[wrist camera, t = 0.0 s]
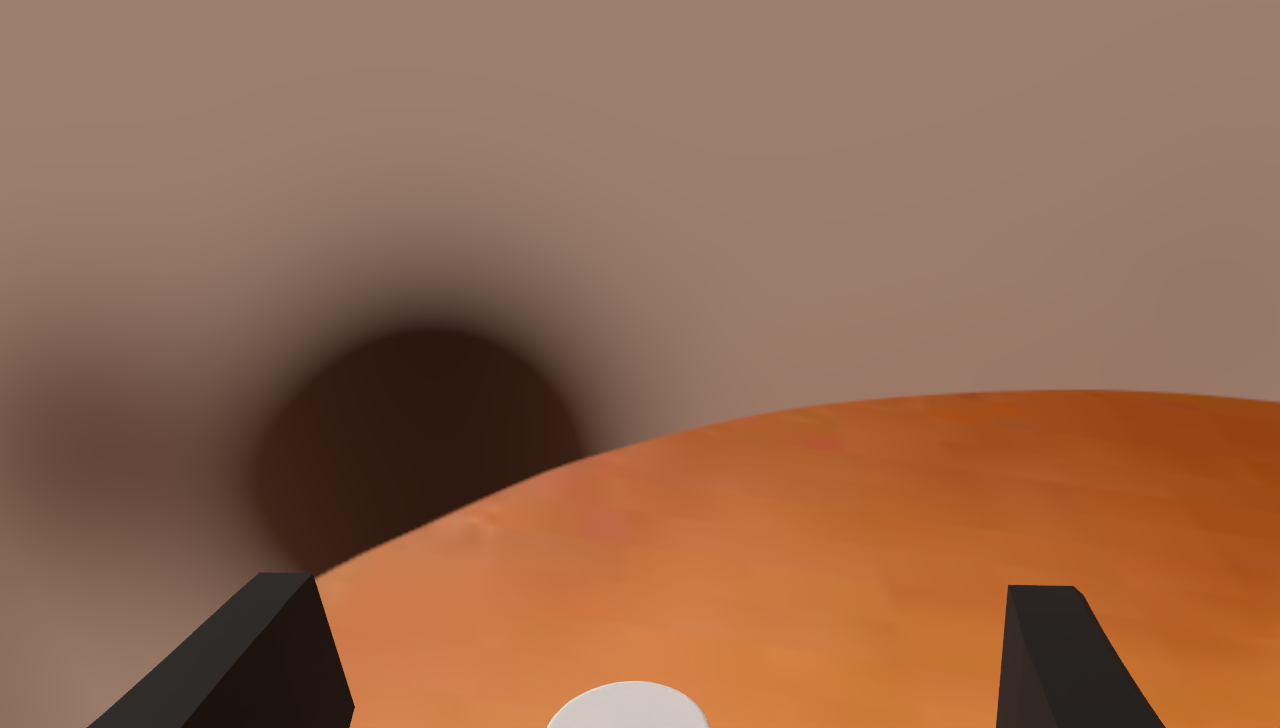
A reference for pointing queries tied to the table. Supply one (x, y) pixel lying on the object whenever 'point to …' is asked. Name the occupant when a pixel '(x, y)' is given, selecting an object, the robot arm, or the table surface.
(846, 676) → the table surface
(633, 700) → the supplement bottle
